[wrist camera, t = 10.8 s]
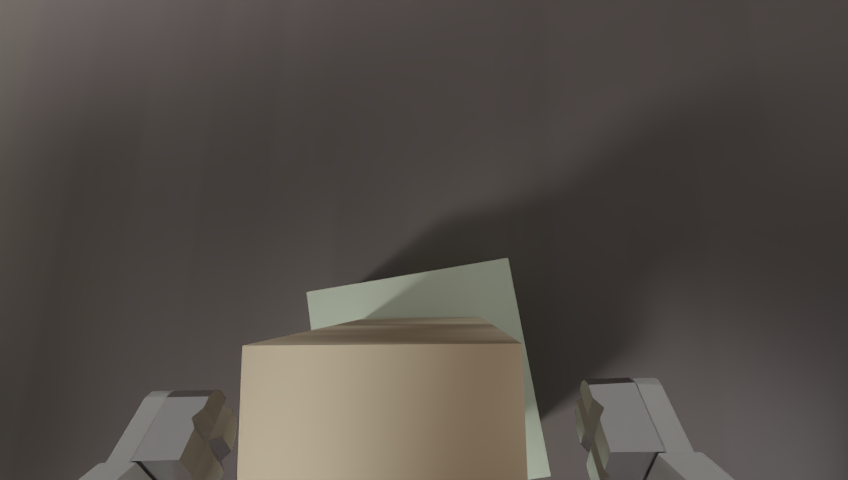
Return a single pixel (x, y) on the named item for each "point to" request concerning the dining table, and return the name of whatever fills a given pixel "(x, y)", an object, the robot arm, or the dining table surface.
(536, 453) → the sage cube
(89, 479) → the robot arm
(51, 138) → the dining table surface
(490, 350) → the beech block
